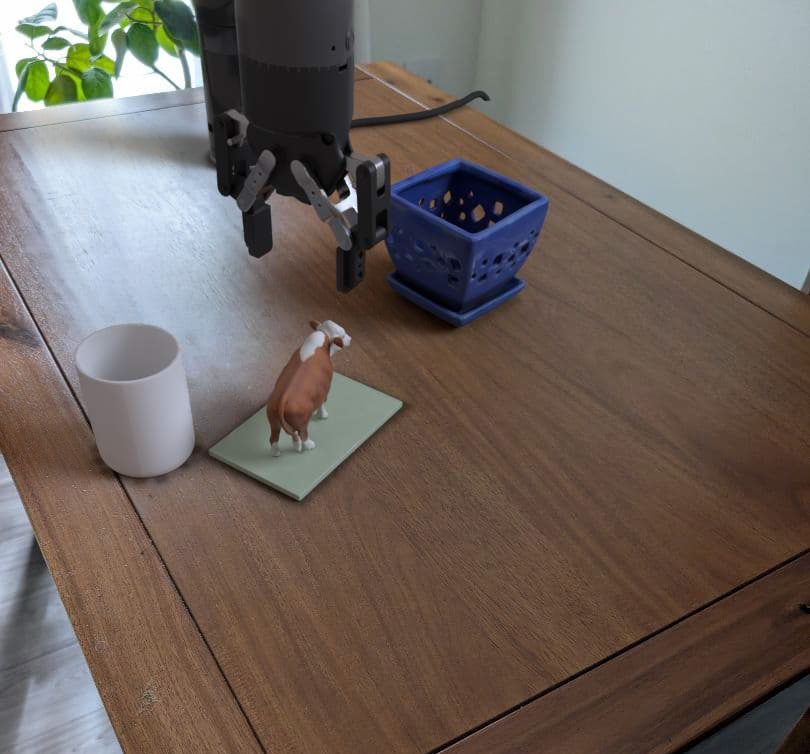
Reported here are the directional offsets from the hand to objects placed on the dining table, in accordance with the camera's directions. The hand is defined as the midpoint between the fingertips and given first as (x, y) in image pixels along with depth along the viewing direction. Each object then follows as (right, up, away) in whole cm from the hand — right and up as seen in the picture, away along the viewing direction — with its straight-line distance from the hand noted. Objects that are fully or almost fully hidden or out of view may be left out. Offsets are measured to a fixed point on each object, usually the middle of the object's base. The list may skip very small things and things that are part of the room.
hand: (304, 270), depth 67 cm
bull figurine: (-1, -11, +11) cm, 16 cm away
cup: (-15, -12, +10) cm, 22 cm away
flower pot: (+13, +6, +29) cm, 32 cm away
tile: (-1, -11, +12) cm, 16 cm away
